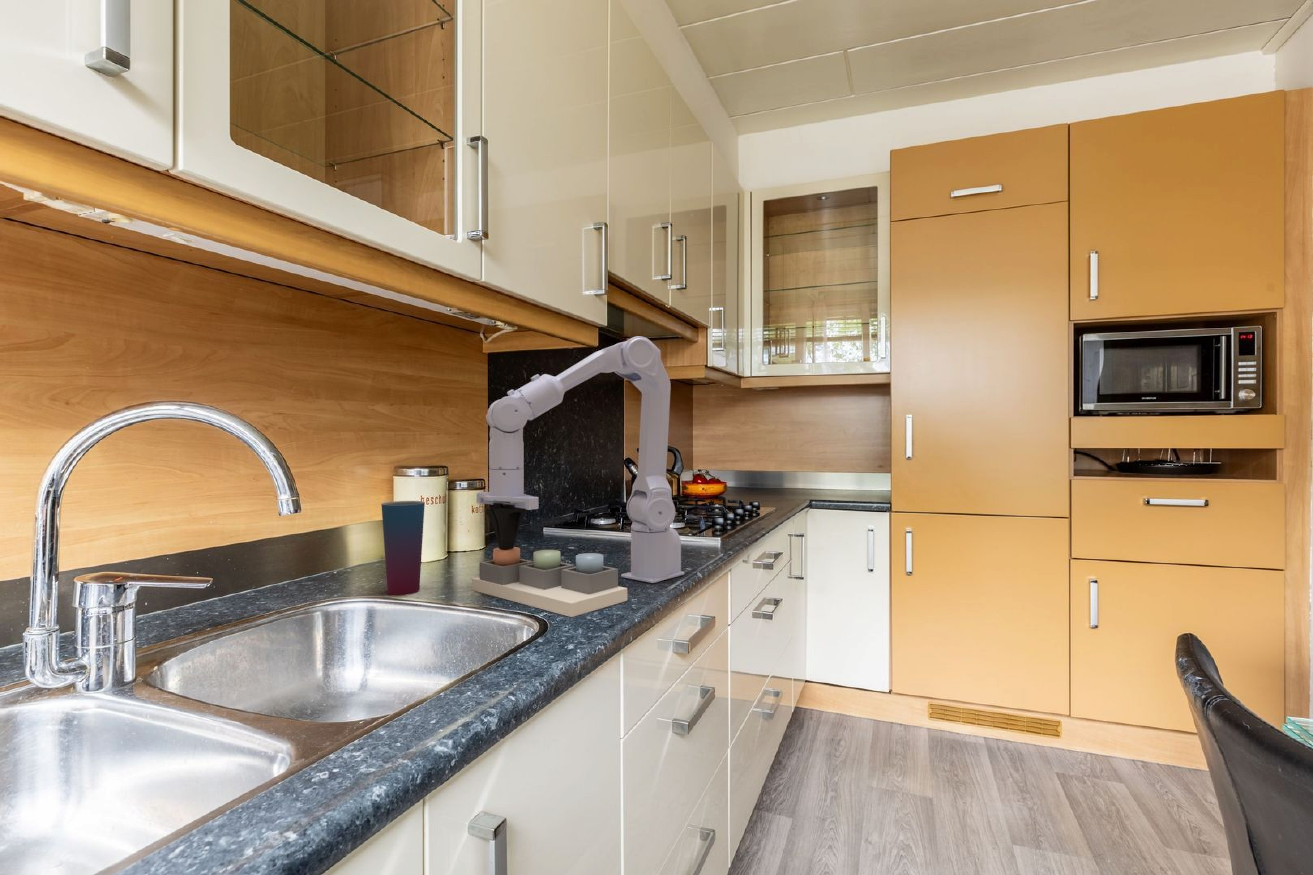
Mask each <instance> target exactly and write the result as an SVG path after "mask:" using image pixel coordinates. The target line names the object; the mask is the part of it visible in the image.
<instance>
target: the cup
mask: <svg viewBox="0 0 1313 875" xmlns="http://www.w3.org/2000/svg"><path fill="white" fill-rule="evenodd" d="M425 503H426V502H425V501H422V500H397V501H396V500H395V501H386V502H383V503H381V515H382V518H381V519H382V531H383V547H384V560H385V561H384V562H385V563H384V564H385V573H386V574H385V575H386V577H385V578H386V588H387V589H386V591H387V594H388V595H391V596H405V595H413V594H415V593H417V592H419V591H420V588H421V587H420V583H421V572H422V571H421V570H422V555H423V554H422V552H423V550H422V549H423V537H424V522H425V521H424V520H425V518H424V517H425V505H426V504H425Z"/></svg>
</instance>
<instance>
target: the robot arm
mask: <svg viewBox="0 0 1313 875" xmlns="http://www.w3.org/2000/svg"><path fill="white" fill-rule="evenodd" d="M661 354H662V353H661V349H659V348H658V347H657V345H656V344H654V342H652V341H651V340H650V339H649V338H647V337H645V336H641V335H640V336H638V335H637V336H633V337H630V339H627V340H626V341H622V342H621V341H620V342H618V343H616V344H614V345H611V346H608V347H605V348H602V349H601V350H598V351H597V350H596V351H595V352H593V353H592V354H589V355H588V356H586V357H585V358H583V359H582V360H580V361H579V362H577V363H575V364H574V365H572V366H570V367H569V368H567V369H565V370H564V371H563V372H560V373H559V374H557V375H556V376H553V375H551V374H547V373H544V374H542V375H540V374H538V373H537V374H535V375H533V376H532V377H530V380H531V381H530V382H528V383H526V384H524V385H523V386H521V387H520V388H518V389H516V390H514V389H510V390H508V391H507V392H506V394H507V395H508V396H503V397H501V399H497V400H494V402H492V403H491V404H490V405H489V408H488V409H487V412H486V413H487V414H485V419H486V422H487V424H488V426H489V438H490V439H489V443H488V448H489V449H488V468H489V469H488V473H489V474H488V476H489V477H488V480H489V481H488V487H489V488H488V491H481V492H480V491H479V492H476V504H478V505H479V504H481V505H482V504H485V505H492V506H491V507H487V508H485V514H486V515H487V517H488V519H489V520H490V522H491V525H492V527H493V530H494V533H495V537H496V542H497V545H498V548H499V549H501V550H508V549H513V548H514V547H515V545H516V542H517V536H518V533H519V529H520V527H521V524H522V522H523V520H524V518H525V516H526V515H527V513H528V511H532V510H538V509H539V504H540V503H539V496H533V495H529V494H525V493H524V491H525V490H524V489H525V488H524V482H525V480H524V477H525V476H524V474H525V473H524V472H525V471H524V470H525V469H524V465H525V464H524V463H525V462H524V460H525V458H524V444H525V443H524V437H523V436H524V427H525V426H526V425H527V422H528V421H533V420H534V419H536V418H538V417H539V416H541V415H542V414H544V413H546V412H548V411H550V409H552V408H554V407H556V406H559V404H561V403H562V402H563V401H564V400H563V399H564V395H565V393H566V392H567V391H569V390H570V389H573V388H574V387H576V386H578V385H580V384H581V383H583V382H585V381H587V380H589V379H591V378H592V377H595V376H597V375H598V374H600V373H604V374H605V373H606V374H608V373H613V372H614V374H616V375H618V376H619V377H622V378H623V379H626V380H627V381H630V383H632V385H633V386H635V387H636V388H637V389H638V391H640V392H641V403H640V404H641V405H640V422H639V423H640V424H639V441H638V442H639V443H638V444H639V445H638V457H637V458H638V462H637V476H636V478H635V480H634V482H633V484H632V488H631V489H632V490H631V495H630V497H629V498H628V500H627V503H626V508H625V509H626V513H627V516H628V519H630V521H632V523H631V526H630V571H629V572H624V573H622V574H620V577H621V578H624V579H629V580H635V581H640V582H646V583H651V584H654V583H659V582H662V581H664V580H665V581H666V580H670V579H672V578H677V577H680V576H684V575H685V571H682V542H681V537H680V535H679V533H678V531H677V530H676V529H674V528H673V527H670V526H671V525H672V524H673V522H674V520H675V516H676V507H675V504H674V502H673V499H672V498H673V497H672V495H673V494H672V491H673V490H672V487H671V486H670V483H669V482H668V479H667V461H668V446H669V442H668V441H669V428H670V427H669V426H670V409H671V408H670V406H671V390H672V388H671V380H670V377H669V375H668V373H667V370H666V368H665V366H664V365H665V364H663V361H662V359H661V357H662V356H661Z"/></svg>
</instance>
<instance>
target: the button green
mask: <svg viewBox="0 0 1313 875" xmlns="http://www.w3.org/2000/svg"><path fill="white" fill-rule="evenodd" d="M532 553H533V562H534V568H536V569H541V570H549V569H554V568H559V567H560V562H561V551H560V550H557V549H556V550H555V549H541V550H536V551H534V552H532Z"/></svg>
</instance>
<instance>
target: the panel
mask: <svg viewBox="0 0 1313 875" xmlns="http://www.w3.org/2000/svg"><path fill="white" fill-rule="evenodd" d="M471 590H472V591H473V592H478V593H482V594H485V595H489V596H492V597H496V598H500V599H503V600H507V601H510V602H515V603H518V604H522V605H525V606H529V607H532V608H537V609H541V610H544V611H548V612H551V613H554V614H558V615H563V616H566V617H569V618H574V617H576V616H580V615H584V614H587V613H591V612H593V611H597V610H601V609H604V608H607V607H610V606H614V605H617V604H621V603H625V602H628V587H623V586H619V569H618V568H615V567H611V566H610V567H609V566H605V565H603V571H602V572H597V573H592V574H585V573H580V572H576V564H570V563H565V562H561V561H560V567H559V568H554V569H549V570H541V569H536V568H534V560H533V561H532V560H528V559H523V558H522V559H521V558H520V563H519V564H514V565H509V566H499V565H494V564H493V559H491V560H487V561H485V560H484V561H481V562H479V576H476V577H472V578H471Z"/></svg>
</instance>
